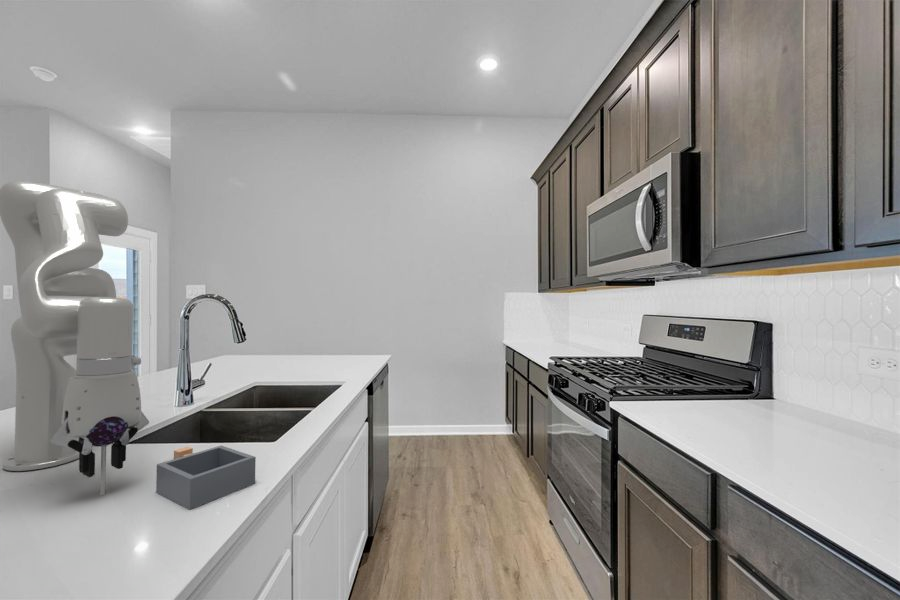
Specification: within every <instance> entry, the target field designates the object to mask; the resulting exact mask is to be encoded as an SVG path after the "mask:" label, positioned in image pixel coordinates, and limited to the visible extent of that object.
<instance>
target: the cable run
mask: <svg viewBox="0 0 900 600" xmlns="http://www.w3.org/2000/svg"><path fill="white" fill-rule="evenodd" d="M193 450H194V448H193V447H190V446H186V447H182V448H178V449H174V450H173V459H177V458H180V457H183V456H187V455H190V454H194V453H195V452H194V451H193ZM193 452H194V453H193Z"/></svg>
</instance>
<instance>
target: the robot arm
mask: <svg viewBox="0 0 900 600" xmlns="http://www.w3.org/2000/svg"><path fill="white" fill-rule="evenodd" d="M0 220H1V223H2V226H3V227H4V230H5V231H6V233H7V234H8V237H9V239H10V241H11V243H12V245H13V249H14V256H15V257H14V258H15V271H16V282H17V284H16V285H17V290H18V302H19V308H20V314H21V316H20V317H18V318H17V319H16V320H15V321H14V322H13V323H12V325H11V327H10V336H11V337H10V339H11V343H12V348H13V354H14V361H15V371H16V372H15V374H16V375H15V378H16V379H15V383H16V384H15V415H14V416H15V419H14V420H15V421H14V424H15V425H14V453H13V454H14V455H13V456H12V455H11V456H10V457H8V458H6V459H5V460H4V461H3V462H2V469H3V470H5V471H9V472H12V471H13V472H23V471H25V472H26V471H34V470H40V469H46V468H52V467H55V466H60V465H64V464H67V463H70V462H73V461H75V460H78V463H79V464H78V471H79V473H81V474H82V475H83V476H86V477H87V478H92V477H94V476H95V474H96V473H95V470H96V467H95V466H96V453H94V452H93V449H92V447H93V446H92V443H91V442H89V441H88V439H87V437H86V436H87V435H89V431H90V430H91V429H93V427H94V426H95V425H96V424H97V423H98V422H99V421H101V420H103V419H105V418H107V417H113V416H115V417H120V418H122V419H123V420H124V421H125V422H127V423H128V428H127V429H126V431H125V433H124V435H123V436H122V437H121V438H120V439H119V440H117V441H116V442H114V443H112V444H110V445H111V448H110V449H111V451H110V466H111V467H113V468H115V469H116V470H117V469H118V470H120V469H123V467H124V462H125V461H126V460H127V459H126V458H127V445H128V444H129V443H130V441H131V439H132V438H133V437H134V436H135V435H137V433H138V432H139V431H141V430H143V429H144V428H145V427H147V426H148V425H149V423H150V420H149V419H148V418H147V416H146V415H145V414H144V412H143V411H142V399H141V398H142V397H141V389H140V384H139V378H138V375H137V372H136V371H133V370H134V368H135V366H137V365H138V366H139V365H141V364H142V359H141V358H142V357H135V356H134V355H133V342H134V341H133V339H134V338H133V337H134V336H133V335H134V304H133V303H132V301H131V300H130V299H127V298H122V297H121V298H120V297H117V291H116V286H115V285H116V284H115V281H114V278H112V276H111V275H110V274H109V272H107V271H105V270H104V269H99V268H93V267H94V266H96V265H97V264H98V263H100V262H101V260H102V258H103V256H104V251H103V246H102V244H101V243H102V242H101V239H100V235H101V236H107V237H120V236H122V235H124V234H125V232H126V231H127V229H128V225H129V215H128V213H127V209H126V208H125V206H124V205H123V203H122V202H120V201H119V200H118V199H116V198H113V197H109V196H106V195H103V194H98V193H93V192H91V191H90V192H89V191H85V190H80V189H74V188H69V187H63V186H58V185H53V184H49V183H43V182H42V183H41V182H37V181H36V182H35V181H29V180H14V181H13V180H12V181H8V182H6V183H4V184H3V185H1V187H0ZM75 355H76V368H75V367H74V366H72V365H71V364H70V363H69V362H68V361H66V360H65V357H67V356H75ZM82 438H83V440H82Z"/></svg>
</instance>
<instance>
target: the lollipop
mask: <svg viewBox="0 0 900 600" xmlns="http://www.w3.org/2000/svg"><path fill="white" fill-rule="evenodd" d="M127 428H128V423H127V422H125V421H124V420H123V419H122V418H120V417H115V416H113V417H107V418H105V419H103V420H101V421H99V422H98V423H97V424H96V425H95V426H94V427H93V429H91V430H90V431H89V435H87V436H86V437H87V439H88V441H89V442H91V443H92V447H100V454H101V455H100V456H101V457H100V492H99V495H101V496H102V495H105V494H106V478H107V477H106V474H107V473H106V471H107V468H106V465H107V446H110V445H112V444H113V443H114V442H116V441H117V440H119V439H120V438H121V437H122V436H123V435H124V433H125V431H126V429H127ZM82 440H83V438H82Z"/></svg>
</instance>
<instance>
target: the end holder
mask: <svg viewBox="0 0 900 600" xmlns="http://www.w3.org/2000/svg"><path fill="white" fill-rule="evenodd" d="M155 482H156V483H155V486H156V487H155V488H156V489H155V493H156V494H158V495H161V496H162V497H164V498H166V499H168V500H170V501H172V502H174V503H176V504H177V505H180V506H182V507H183V508H185V509H187V510H189V511H190V510H193V509H195V508H198V507H201V506H202V505H205V504H208V503H211V502H213V501H215V500H218V499H220V498H223V497H226V496H228V495H230V494H232V493H235V492H238V491H240V490H242V489H245V488H247V487H248V488H249V487H250V486H253V485H254V484H256V456H254V455H251V454H248V453H245V452H242V451H239V450H236V449H233V448H230V447H227V446H224V445H219V446H215V447H211V448H209V449H204V450H201V451H197V452H194V454H190V455H187V456H183V457H180V458H177V459H174V458H173V459H170V460H167V461H163V462H161V463H157V464H156V481H155Z"/></svg>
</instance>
